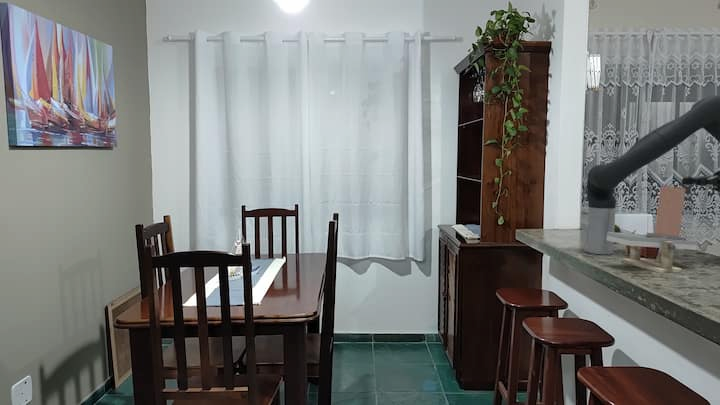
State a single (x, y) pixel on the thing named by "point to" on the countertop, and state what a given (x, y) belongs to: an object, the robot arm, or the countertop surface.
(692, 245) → the beam
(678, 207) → the block
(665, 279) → the countertop surface
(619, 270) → the countertop surface
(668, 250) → the pivot stand
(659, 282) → the countertop surface
